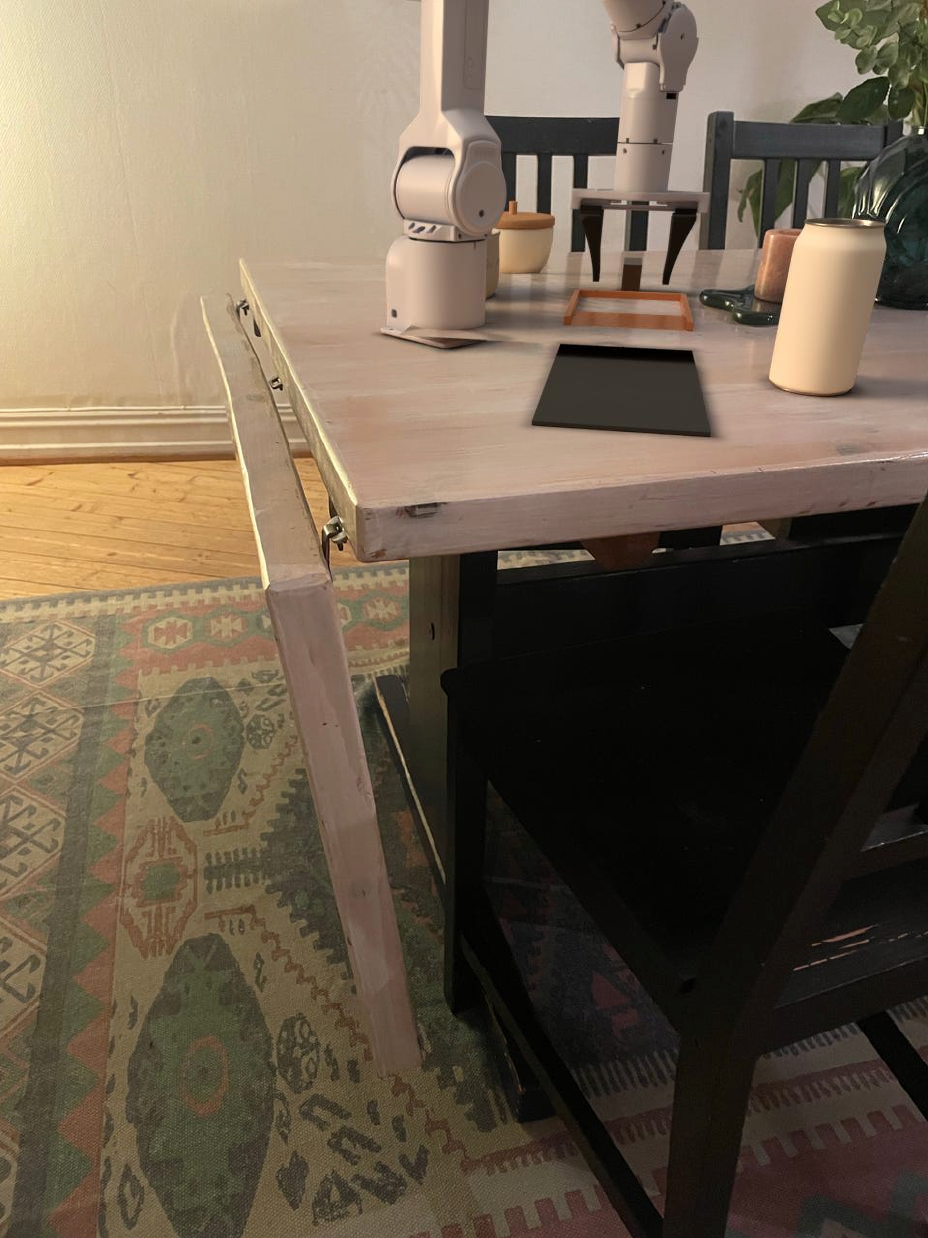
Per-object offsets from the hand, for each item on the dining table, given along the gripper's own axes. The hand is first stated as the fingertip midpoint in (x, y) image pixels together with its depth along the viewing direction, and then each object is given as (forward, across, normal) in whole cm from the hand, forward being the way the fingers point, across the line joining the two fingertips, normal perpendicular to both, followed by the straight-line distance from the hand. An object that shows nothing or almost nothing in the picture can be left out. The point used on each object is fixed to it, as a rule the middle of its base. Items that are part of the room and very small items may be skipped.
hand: (630, 282), depth 96 cm
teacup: (+3, +20, +4) cm, 20 cm away
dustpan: (+2, 0, +8) cm, 8 cm away
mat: (+3, 0, +33) cm, 33 cm away
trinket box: (+3, +16, -16) cm, 22 cm away
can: (+3, -15, +31) cm, 35 cm away
